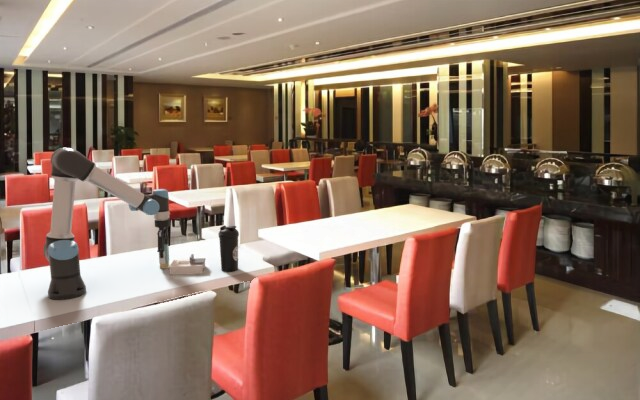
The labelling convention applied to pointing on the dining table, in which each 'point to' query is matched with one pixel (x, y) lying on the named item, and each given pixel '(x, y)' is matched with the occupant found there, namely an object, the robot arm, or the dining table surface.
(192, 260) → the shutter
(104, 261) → the dining table surface
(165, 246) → the teal block
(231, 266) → the water bottle
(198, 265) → the socket block
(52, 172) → the robot arm
